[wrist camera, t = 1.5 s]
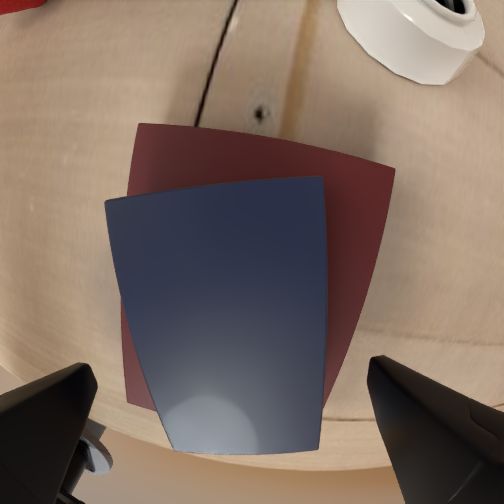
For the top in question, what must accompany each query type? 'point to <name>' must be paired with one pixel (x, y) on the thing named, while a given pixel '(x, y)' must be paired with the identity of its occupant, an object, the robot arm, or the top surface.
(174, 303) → the navy book
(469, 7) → the inkwell
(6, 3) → the strawberry
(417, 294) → the top surface
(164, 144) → the burgundy book
